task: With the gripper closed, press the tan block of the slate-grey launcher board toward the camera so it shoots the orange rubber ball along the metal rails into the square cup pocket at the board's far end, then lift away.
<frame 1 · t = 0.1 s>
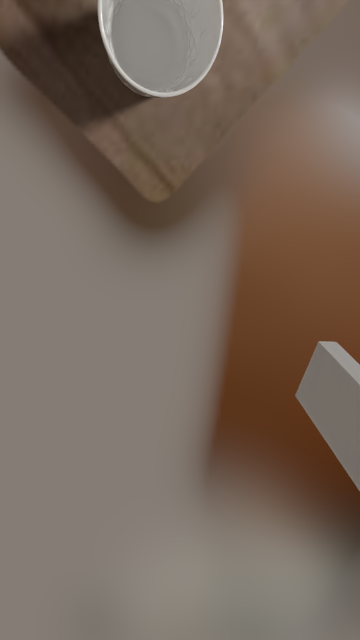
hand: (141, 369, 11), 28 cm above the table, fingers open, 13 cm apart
white cup: (147, 50, 29), on the table
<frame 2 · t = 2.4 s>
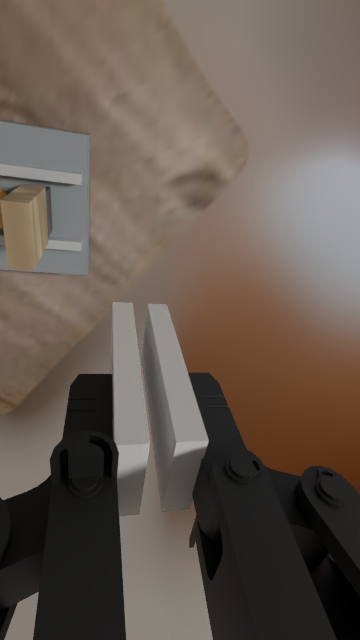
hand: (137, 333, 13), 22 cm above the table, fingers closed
tan block: (28, 220, 24), point 7 cm above the table, slide at 0.0 cm
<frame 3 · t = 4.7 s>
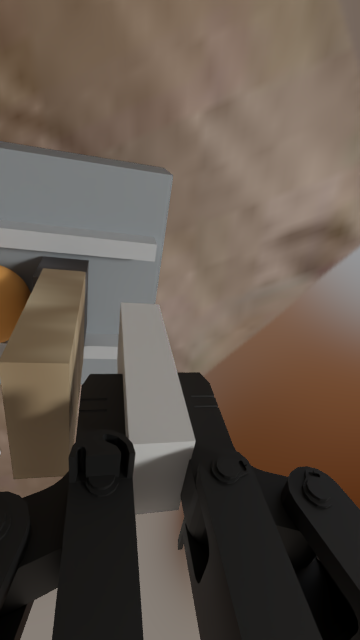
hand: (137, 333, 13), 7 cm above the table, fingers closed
tan block: (53, 341, 12), point 7 cm above the table, slide at 0.5 cm, touching gripper
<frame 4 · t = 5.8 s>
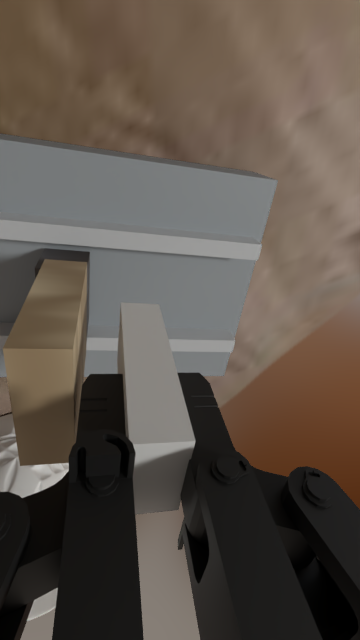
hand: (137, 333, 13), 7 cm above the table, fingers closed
white cup: (31, 438, 26), on the table
launcher board: (66, 261, 19), on the table
tan block: (56, 331, 13), point 7 cm above the table, slide at 5.6 cm, touching gripper
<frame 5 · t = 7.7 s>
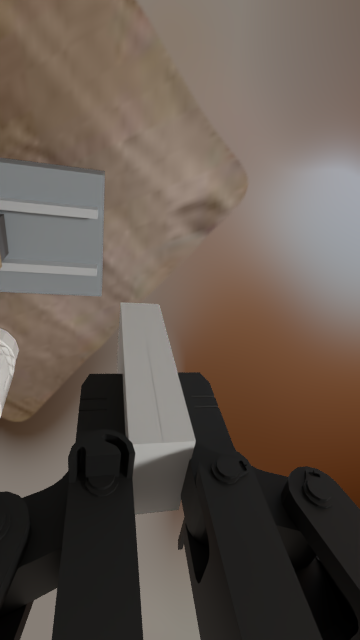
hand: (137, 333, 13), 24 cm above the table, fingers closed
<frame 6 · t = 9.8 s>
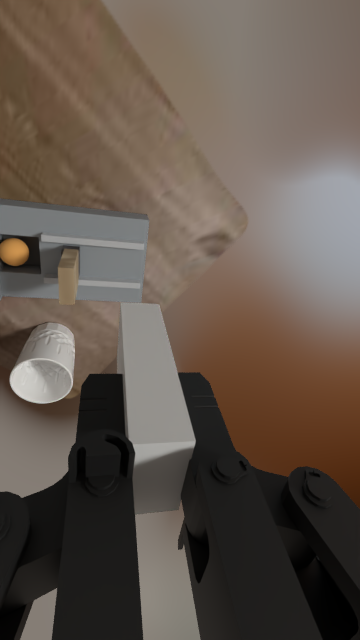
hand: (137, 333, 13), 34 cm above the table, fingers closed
white cup: (53, 339, 52), on the table
launcher board: (71, 250, 45), on the table
ball: (14, 252, 42), point 2 cm above the table, tilted 39°, touching launcher board
tan block: (68, 271, 39), point 7 cm above the table, slide at 5.6 cm
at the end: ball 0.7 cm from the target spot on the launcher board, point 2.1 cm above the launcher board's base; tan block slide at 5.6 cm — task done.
